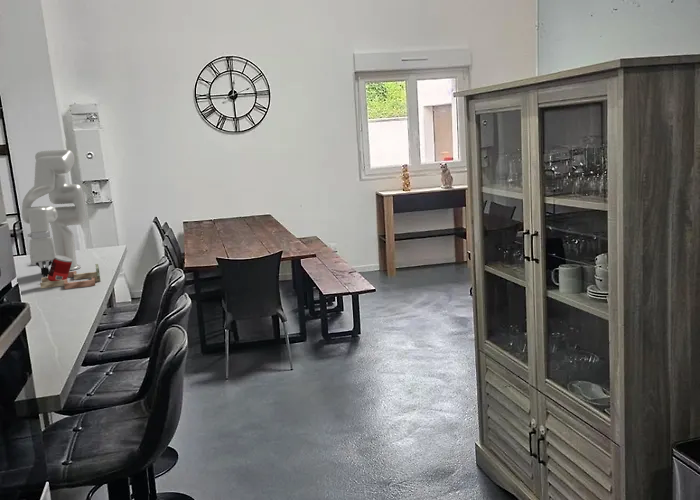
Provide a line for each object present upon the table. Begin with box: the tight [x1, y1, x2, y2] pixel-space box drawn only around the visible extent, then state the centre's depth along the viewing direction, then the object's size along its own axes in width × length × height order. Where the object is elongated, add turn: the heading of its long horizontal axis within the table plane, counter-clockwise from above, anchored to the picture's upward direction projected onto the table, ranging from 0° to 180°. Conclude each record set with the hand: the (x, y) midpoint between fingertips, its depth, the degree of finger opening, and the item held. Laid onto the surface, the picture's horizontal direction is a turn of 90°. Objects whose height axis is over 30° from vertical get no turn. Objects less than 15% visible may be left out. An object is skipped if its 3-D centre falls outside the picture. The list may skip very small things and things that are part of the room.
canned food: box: [48, 255, 72, 281], centre depth 291 cm, size 8×8×11 cm
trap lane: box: [39, 263, 101, 290], centre depth 293 cm, size 25×29×6 cm
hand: (45, 276), depth 288 cm, fingers closed
